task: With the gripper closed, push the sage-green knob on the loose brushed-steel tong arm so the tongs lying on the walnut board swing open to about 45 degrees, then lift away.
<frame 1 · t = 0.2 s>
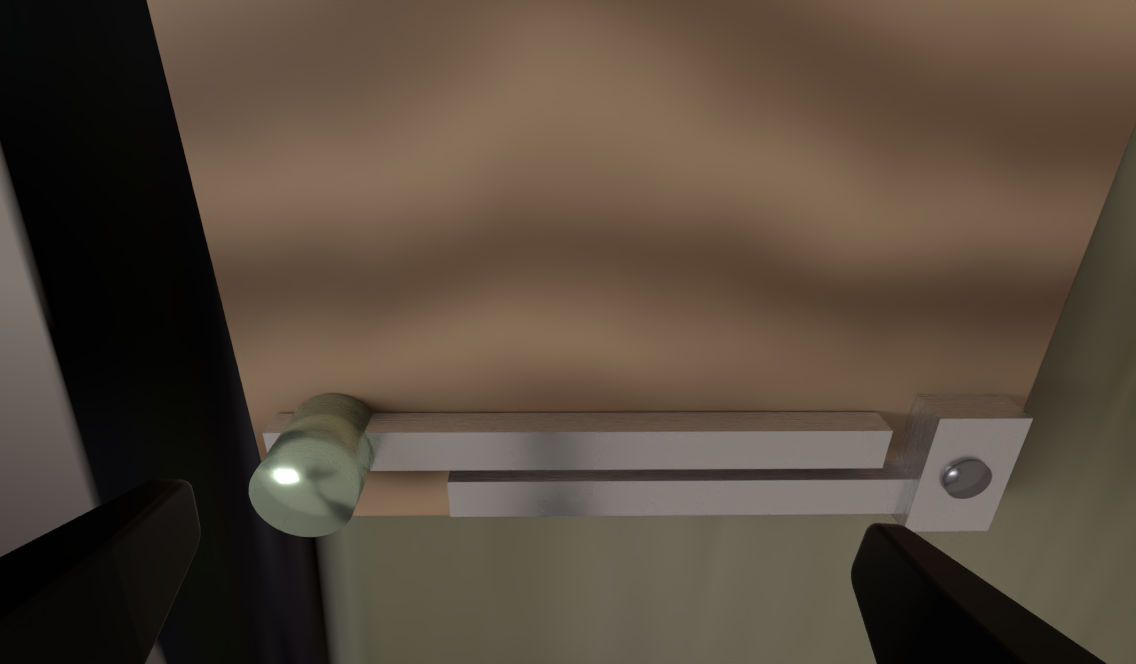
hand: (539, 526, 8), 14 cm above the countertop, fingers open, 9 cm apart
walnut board: (647, 260, 22), on the countertop
tong arm: (582, 461, 21), point 3 cm above the countertop, hinge at 0.0°
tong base: (883, 428, 23), resting on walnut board
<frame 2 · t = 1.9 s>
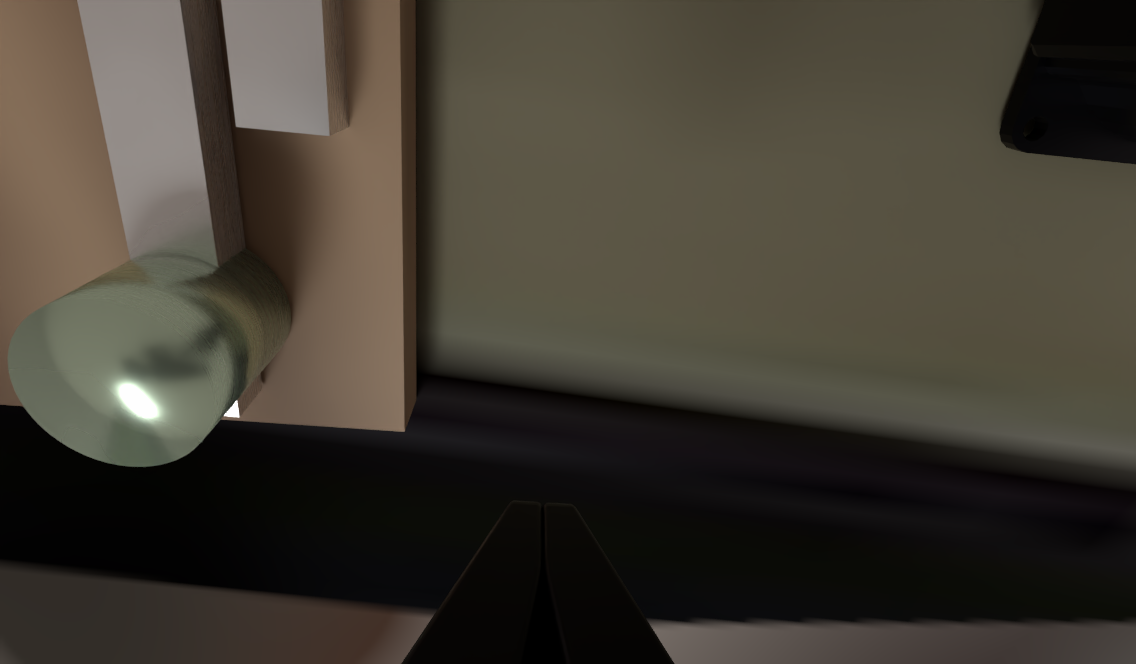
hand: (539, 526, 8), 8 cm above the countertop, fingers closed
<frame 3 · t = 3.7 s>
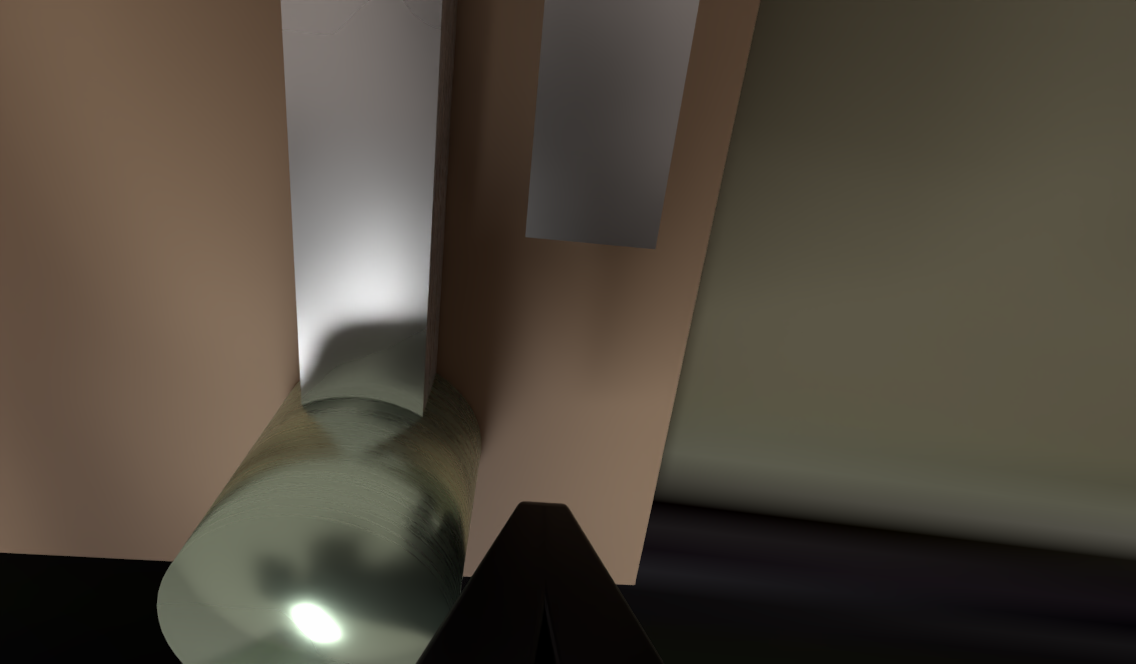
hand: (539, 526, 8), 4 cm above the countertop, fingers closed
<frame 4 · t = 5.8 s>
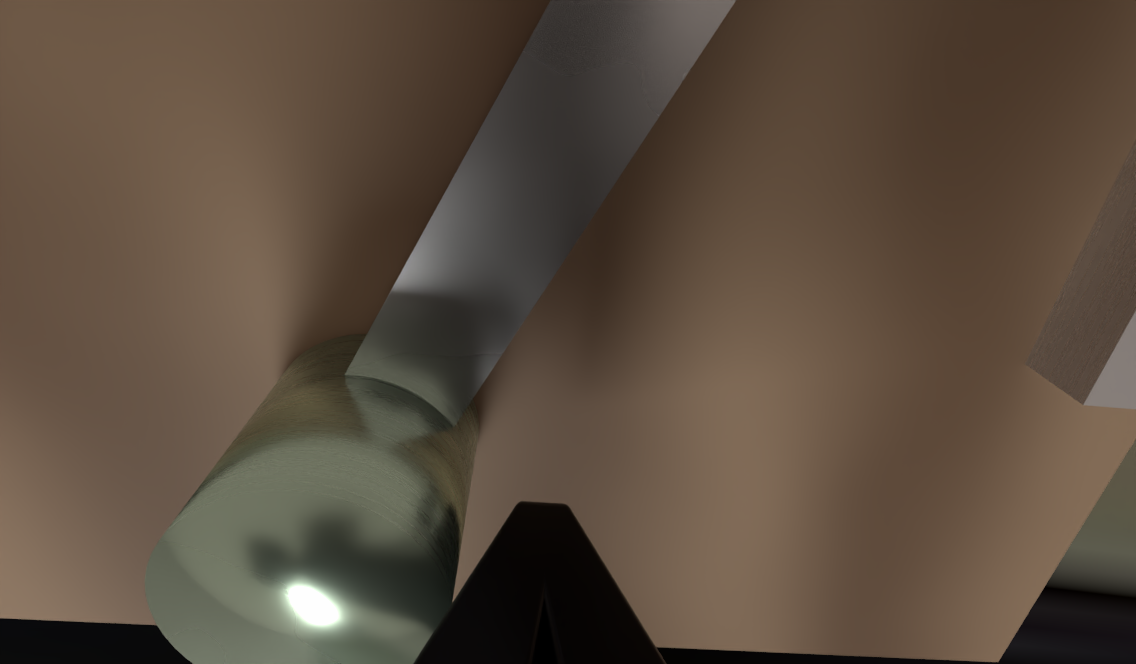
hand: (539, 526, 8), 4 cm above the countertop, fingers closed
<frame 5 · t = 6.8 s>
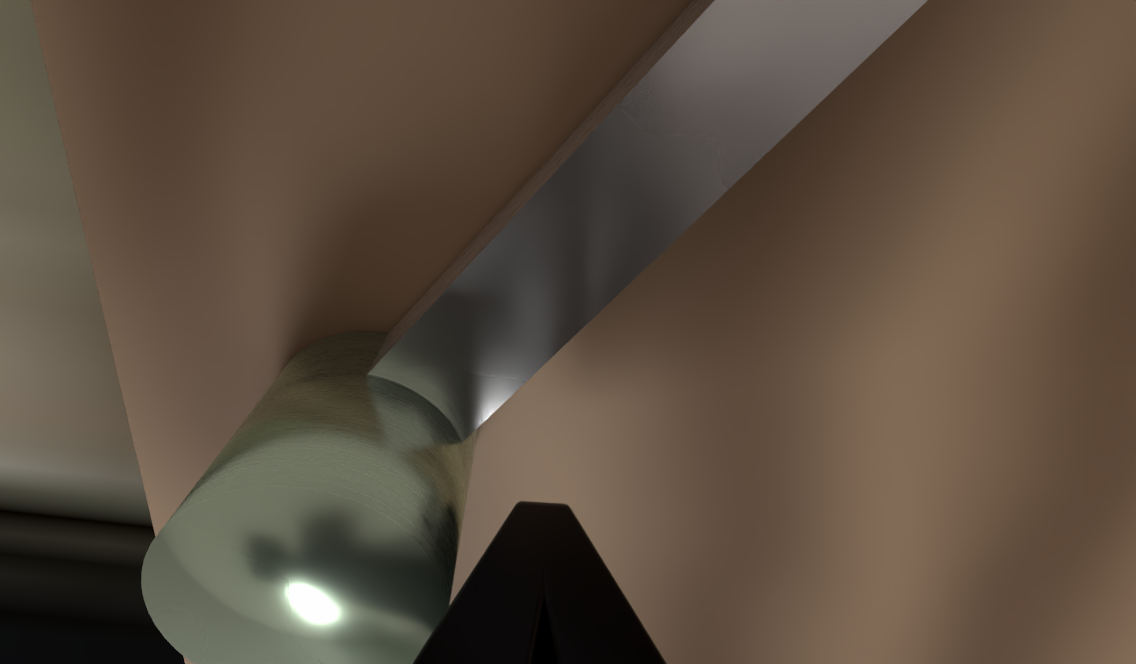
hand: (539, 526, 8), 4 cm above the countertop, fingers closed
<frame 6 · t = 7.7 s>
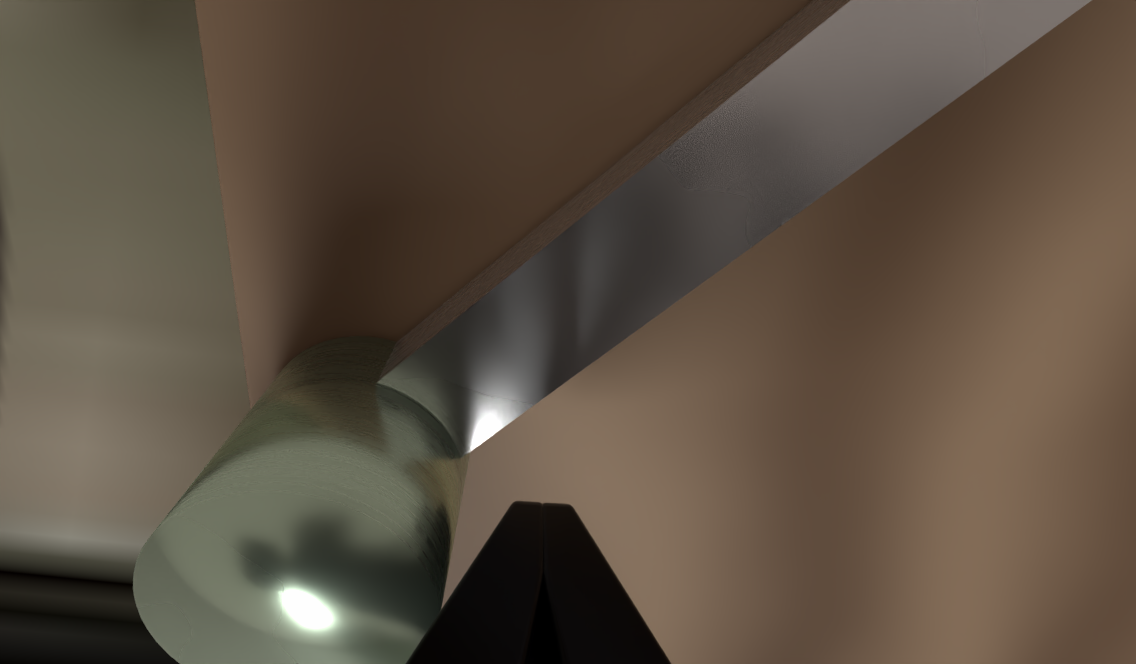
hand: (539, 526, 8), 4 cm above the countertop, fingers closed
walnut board: (917, 125, 10), on the countertop
tong arm: (946, 43, 6), point 3 cm above the countertop, hinge at 44.8°, touching gripper
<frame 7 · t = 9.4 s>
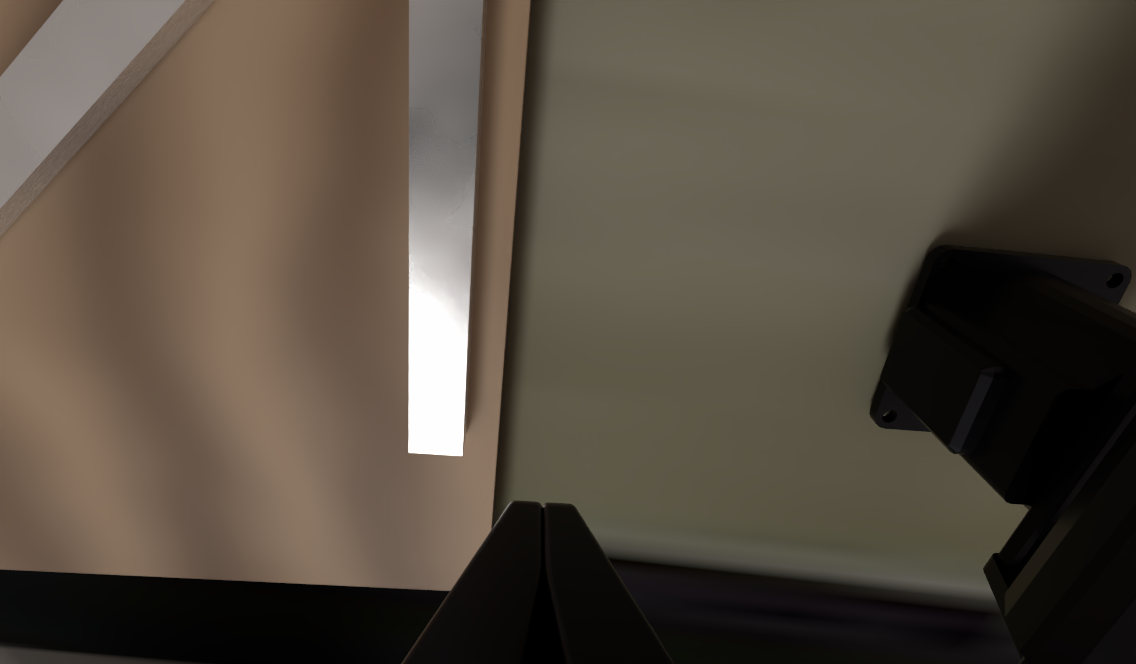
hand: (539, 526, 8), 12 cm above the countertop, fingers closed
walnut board: (161, 174, 18), on the countertop
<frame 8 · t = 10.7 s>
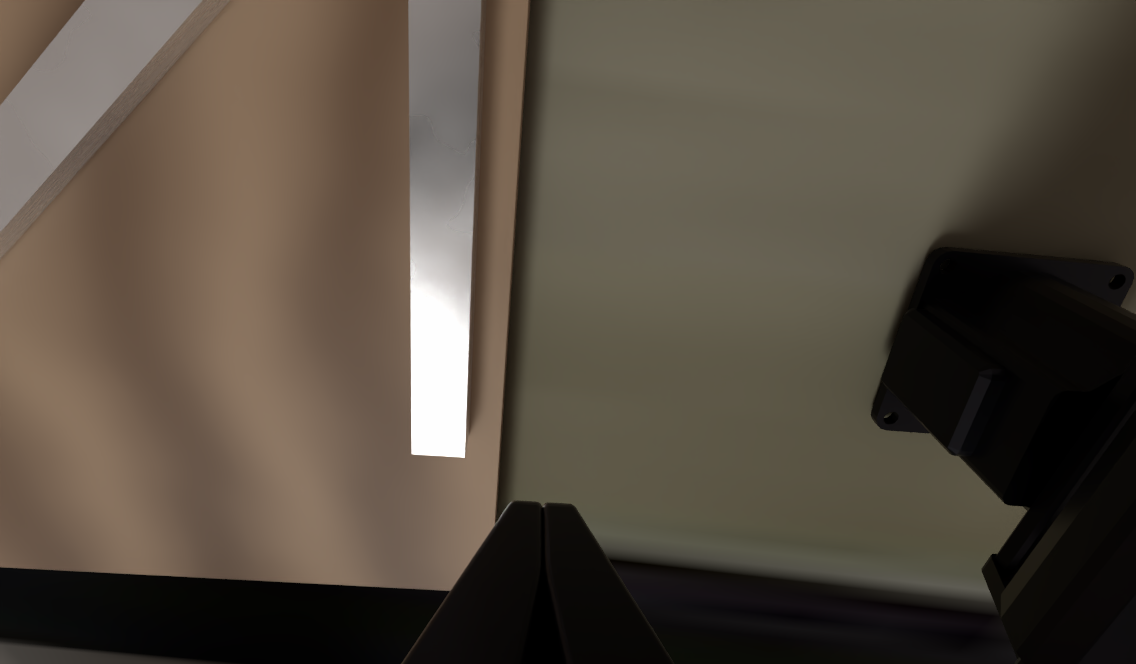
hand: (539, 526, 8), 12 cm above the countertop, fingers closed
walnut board: (169, 181, 18), on the countertop
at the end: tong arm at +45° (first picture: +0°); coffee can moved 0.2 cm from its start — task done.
